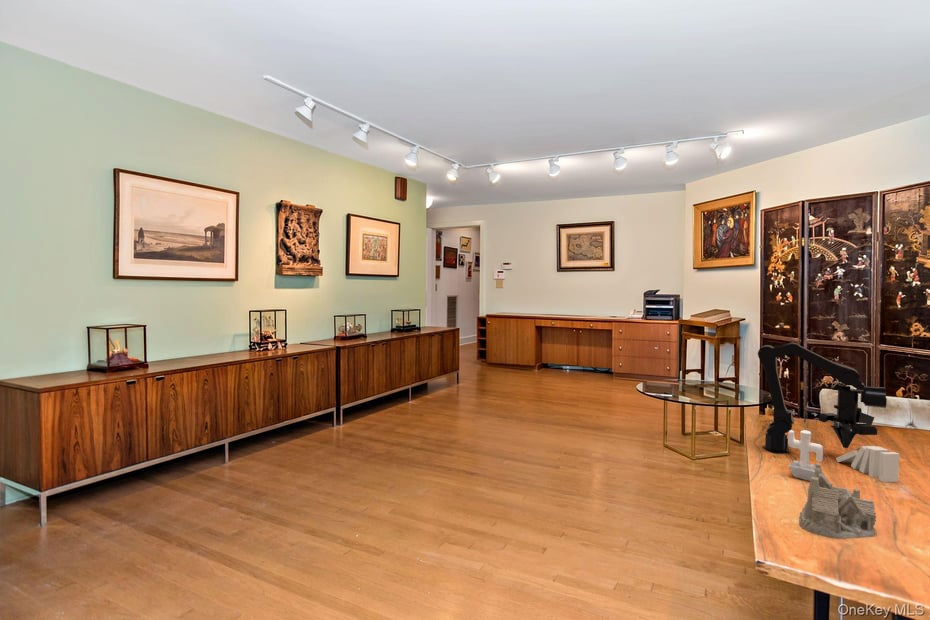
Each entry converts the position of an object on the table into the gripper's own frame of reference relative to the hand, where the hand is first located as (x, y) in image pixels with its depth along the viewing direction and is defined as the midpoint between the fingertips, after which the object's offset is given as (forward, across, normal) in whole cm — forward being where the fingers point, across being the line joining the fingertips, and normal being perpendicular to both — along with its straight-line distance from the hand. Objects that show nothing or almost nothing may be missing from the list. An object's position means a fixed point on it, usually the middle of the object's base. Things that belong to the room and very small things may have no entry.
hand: (845, 447), depth 175 cm
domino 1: (+4, 0, 0) cm, 5 cm away
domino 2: (+5, -6, 0) cm, 8 cm away
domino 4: (+5, -13, 0) cm, 14 cm away
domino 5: (+5, -17, 0) cm, 18 cm away
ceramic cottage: (+5, -45, +42) cm, 62 cm away
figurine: (+5, -13, +25) cm, 29 cm away
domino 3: (+5, -10, 0) cm, 11 cm away
